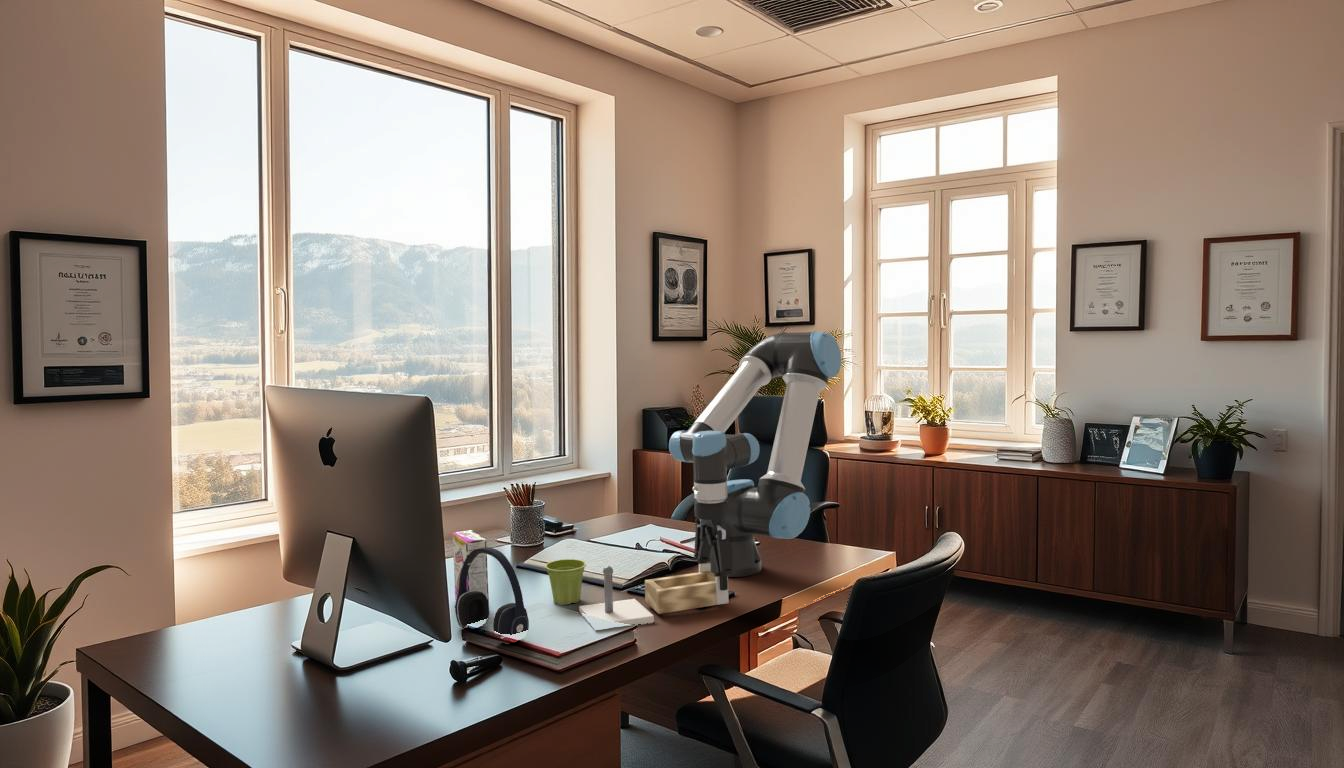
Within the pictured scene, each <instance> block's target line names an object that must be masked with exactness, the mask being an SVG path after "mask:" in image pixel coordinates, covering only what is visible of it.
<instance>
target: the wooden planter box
mask: <svg viewBox="0 0 1344 768" xmlns="http://www.w3.org/2000/svg"><path fill="white" fill-rule="evenodd" d="M714 575H715V574H714V573H712V572H711V571H705V572H699V571H698V572H692V573H685V574H679V575H672V576H671V575H670V576H665V577H657V578H650V579H645V580H644V597H645V598H644V600H645V603H646V604H647V605H648V606H650V607H651V608H652V609H653V610H654V611H655V612H656V614H658V615H661V614H665V613H666V614H667V613H673V612H680V611H686V610H693V609H699V608H704V607H711V606H718V605H717V604H716V581H715V576H714Z"/></svg>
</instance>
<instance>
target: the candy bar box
mask: <svg viewBox="0 0 1344 768" xmlns="http://www.w3.org/2000/svg"><path fill="white" fill-rule="evenodd" d="M451 535H452V557H453V575H454V577H453V579H454V593H455V594H454V599H455V601H456V600H457V596H458V591H459V580H460V573H461V569H462V566H463V564H464V561H465V559H466V558H467V556H468V555H469V554H470V553H471V552H472V551H473V550H475V549H479V548H484V547H487V539H486V538H484V536H481V535H480V534H478V532H475V531H474V530H472V529H468V530H460V531H454V532H452V533H451ZM488 577H489V575H488V554H484V553H480V554H478V555H477V556H476V557H475V558H474V560H473V561H472V563H471V564H470V567H469V570H468V575H467V591H479V592H482V593H483V594H485V595H486V597H487V600H488V605H489V606H490V602H489V601H490V600H489V599H490V598H489V597H490V596H489V595H490V593H489V579H488Z"/></svg>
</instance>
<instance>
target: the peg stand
mask: <svg viewBox="0 0 1344 768" xmlns="http://www.w3.org/2000/svg"><path fill="white" fill-rule="evenodd" d="M602 573H603V582H604V583H603V586H604V587H603V588H604V592H603V593H604V602H599V603H593V604H586V605H579V606H578V609H579V611H580V612H581V613H584V614H586V615H591V616H595V617H599V618H602V619H605V620H610V621H614V622H619V623H624V624H635V625H634V626H639V625H638V624H641V625H647V623H648V624H653V622H655V619H654V615H653V614H652V612H650V611H649V610H648V609H647V608H646V607H645V606H644V605H642V604H641V603H640V602H639V601H638V600H636V598H631V599H622V600H615V601H614V591H613V589H614V588H613V583H614V582H613V574H614V569H613V567H612V566H610V565H606V566H604V568H603V570H602ZM579 611H578V612H579Z"/></svg>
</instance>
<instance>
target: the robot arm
mask: <svg viewBox="0 0 1344 768" xmlns="http://www.w3.org/2000/svg"><path fill="white" fill-rule="evenodd" d="M739 360H740V361H739V363H738V369H737V370H736V371H735V372H734V374H733V375H732V376H731V377H730V378H729V380H728V381H727V382H726V383H725V385H723V386H722V388H721V389H720V390H719V391H718V393H717V394H716V395H715V396H714V398H713V399H712V400H711V401H710V403H709V404H708V405H707V406H706V407H705V408H704V410H703V411H702V412H701V414H699V416H698V417H697V418H696V419H695V421H694V422H693V424H692V425H691V426H690V427H689V428H688V429H687V430H685V429H683V430H677V431H674V432H673V433H672V435H671V436H670V438H669V441H668V442H669V443H668V450H669V453H670V455H671V457H672V458H673V459H675V460H676V461H679V462H683V463H689V464H690V463H693V464H692V465H693V466H692V467H693V487H692V491H693V493H694V494H693V495H694V496H693V497H694V499H695V501H694V507H693V508H694V516H695V521H694V523H695V537H694V549H693V550H694V551H693V556H694V557H693V558H694V559H696V560H697V563H698V572H705V571H711V572H712V573H714V574H715V575H714V576H715V581H716V604H717V605H716V606H718V605H724V604H729V602H730V601H729V600H730V599H729V578H741V577H748V576H752V575H756V574H758V573H760V572H762V559H761V556H760V553H759V549H758V547H757V544H756V542H755V535H758V536H765V537H772V538H774V539H783V540H784V539H786V540H790V539H794V538H796V537H798V536H799V535H800V534H801V533H803V531H804V530H805V529H806V528H807V527H806V526H807V525H808V522H809V519H810V517H811V507H810V505H811V502H810V499H809V497H808V496H807V494H805V492H806V488H805V486H804V485H803V483H802V481H801V480H802V476H803V471H804V467H805V461H806V457H807V453H808V447H809V443H810V438H811V434H812V429H813V424H814V419H815V415H816V411H817V410H816V409H817V406H818V402H819V396H820V392H823V390H825V389H826V388H827V387H828V382H829V379H832V378H835V377H836V376H837V375H838V374H839V372H840V370H841V366H842V354H841V348H840V346H839V343H838V342H837V339H836V338H835V337H834V336H833V335H832V334H831V333H829V332H823V331H822V332H821V331H819V332H818V331H816V330H815V331H803V332H801V331H799V332H796V331H795V332H793V331H792V332H784V331H783V332H777V333H773V334H771V335H769V336H767V337H765V338H763V339H762V340H760V341H759V342H757V343H756V344H755V345H754V346H752V347H751V348H750V349H749V350H748V351H747V352H746V353H745V354H744V355H743V356H742V358H741V359H739ZM777 377H782V380H783V382H785V384H786V387H785V392H784V396H783V400H782V404H781V409H780V414H779V418H778V423H777V427H776V432H775V437H774V440H773V446H772V450H771V454H770V459H769V464H768V467H767V468H768V469H767V472H766V474H764V475H763V476H761V477H759V480H758V484H757V487H756V486H755V483H754V481H753V479H748V478H747V479H733V480H731V479H730V480H728V478H727V477H728V476H727V475H728V474H727V471H729V470H732V469H736V468H741V467H747V465H750V464H752V463H755V461H756V460H758V458H759V455H760V450H761V449H760V444H759V443H760V442H758V439H757V438H756V437H755V436H754V435H753V434H751V433H747V432H744V433H740V432H739V433H737V434H727V433H726V431H727V430H728V429H729V427H730V426H731V425H732V424H733V423H734V421H735V420H736V419H737V418H738V416H739V415H740V414H741V413H742V412H743V410H744V409H745V408H746V406H747V405H748V403H749V402H750V401H751V400H752V399H753V397H754V396H755V395H756V393H757V392H758V391H759V390H760V389H761V387H763V386H766V385H769V383H770V382H771V381H772V380H773V379H774V378H777Z"/></svg>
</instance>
